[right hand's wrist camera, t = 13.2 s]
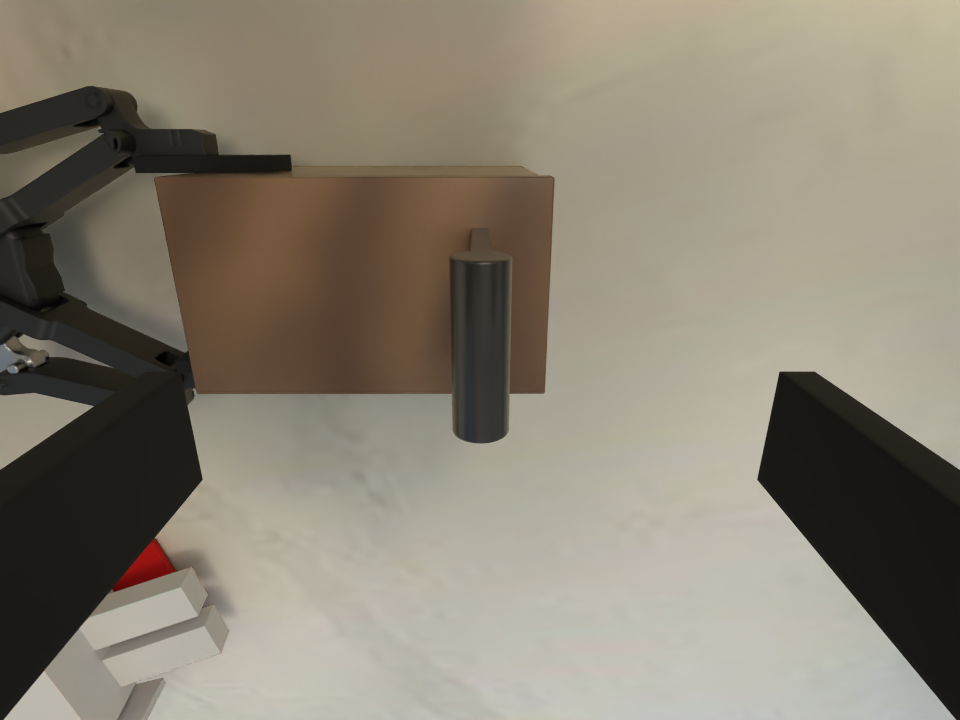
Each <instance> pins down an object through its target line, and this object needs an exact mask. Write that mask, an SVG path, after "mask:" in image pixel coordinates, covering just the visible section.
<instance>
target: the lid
mask: <svg viewBox="0 0 960 720" xmlns="http://www.w3.org/2000/svg"><path fill="white" fill-rule="evenodd" d="M154 180H155V185H156V190H157V195H158V200H159V205H160V210H161V215H162V220H163V225H164V230H165V235H166V240H167V246H168V251H169V256H170V261H171V266H172V271H173V276H174V281H175V286H176V291H177V296H178V301H179V306H180V311H181V316H182V321H183V326H184V331H185V336H186V341H187V346H188V352H189V357H190V362H191V367H192V372H193V377H194V382H195V387H196V392H197V394H452V421H453V432H454V434H455V435H456V436H457V437H458V438H460V439H461V440H464V441H467V442H471V443H490V442H495V441H498V440H500V439H502V438H503V437H505V436H506V435H507V433H508V431H509V394H543V393H545V375H546V353H547V331H548V309H549V287H550V265H551V243H552V221H553V199H554V177H552V176H450V175H170V176H160V177H155V178H154Z"/></svg>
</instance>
